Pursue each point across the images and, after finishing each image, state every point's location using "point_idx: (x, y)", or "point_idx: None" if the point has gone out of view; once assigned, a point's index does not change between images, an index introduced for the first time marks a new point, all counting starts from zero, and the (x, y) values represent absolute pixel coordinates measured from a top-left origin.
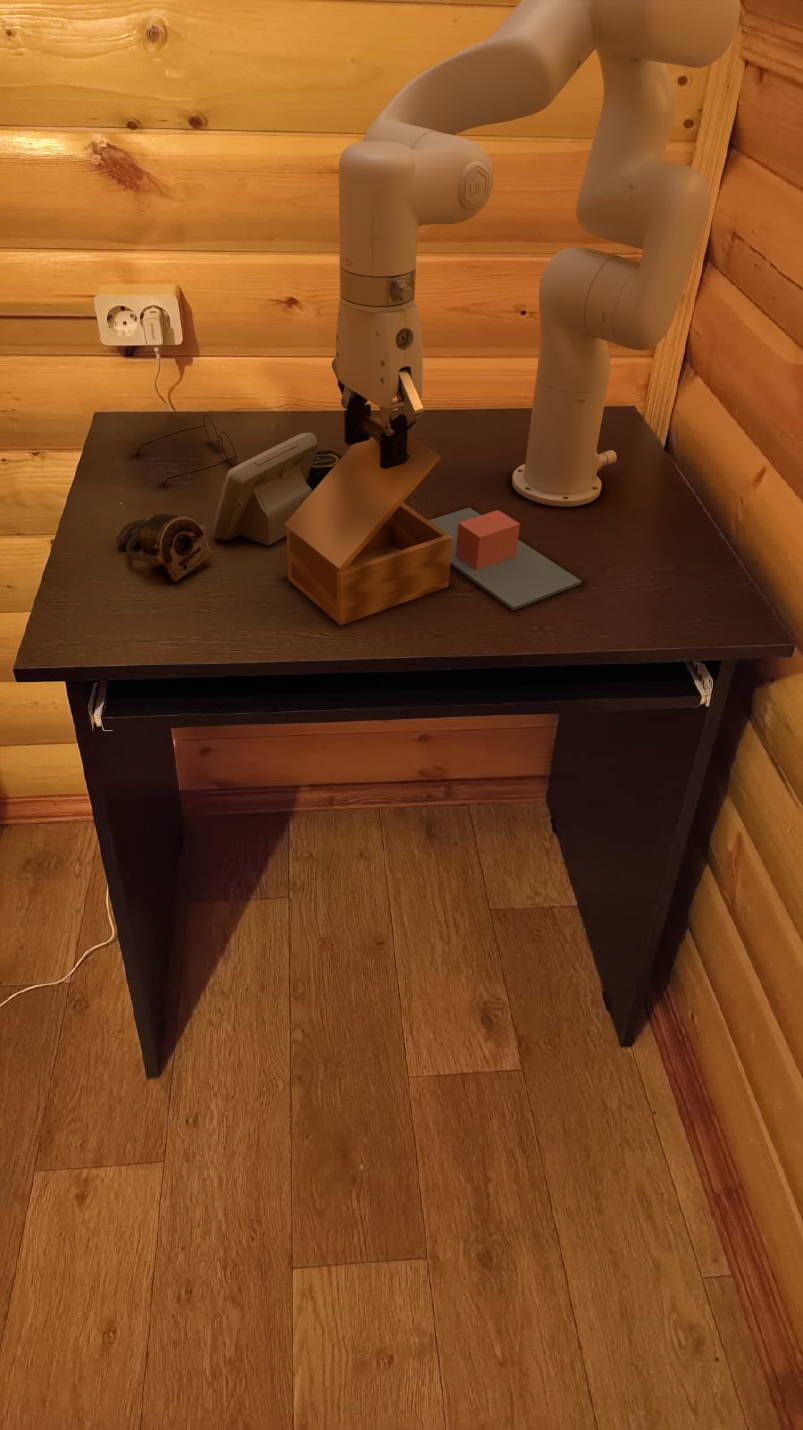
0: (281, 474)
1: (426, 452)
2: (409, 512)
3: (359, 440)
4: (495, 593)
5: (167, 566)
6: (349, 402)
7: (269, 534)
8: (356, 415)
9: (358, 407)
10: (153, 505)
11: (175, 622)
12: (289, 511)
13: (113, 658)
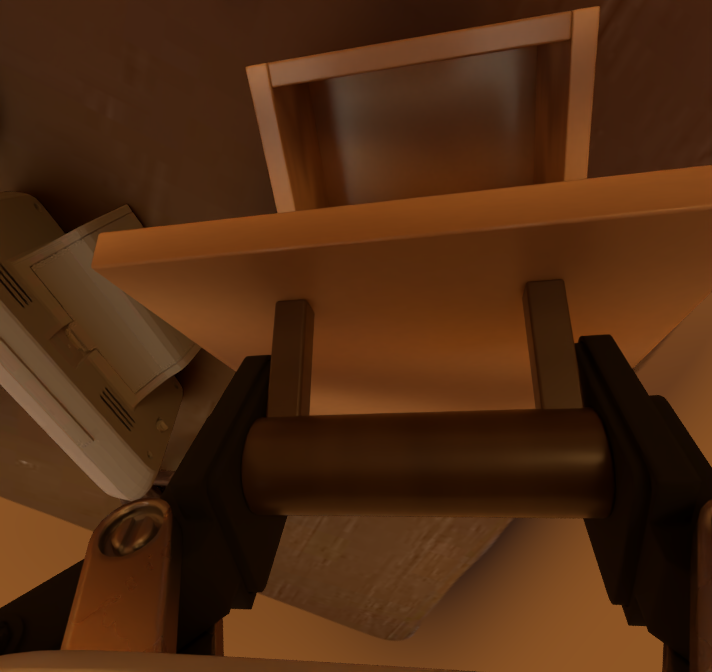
0: (60, 327)
1: (678, 227)
2: (362, 73)
3: None
4: None
5: None
6: (221, 648)
7: None
8: (258, 541)
9: (228, 565)
10: (33, 429)
11: (388, 520)
12: None
13: (432, 592)
